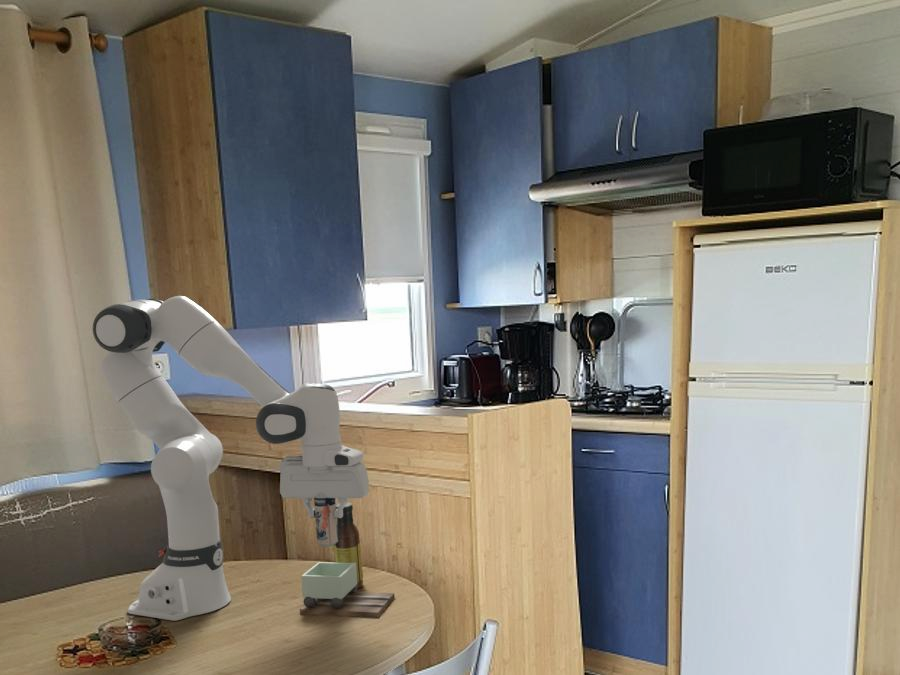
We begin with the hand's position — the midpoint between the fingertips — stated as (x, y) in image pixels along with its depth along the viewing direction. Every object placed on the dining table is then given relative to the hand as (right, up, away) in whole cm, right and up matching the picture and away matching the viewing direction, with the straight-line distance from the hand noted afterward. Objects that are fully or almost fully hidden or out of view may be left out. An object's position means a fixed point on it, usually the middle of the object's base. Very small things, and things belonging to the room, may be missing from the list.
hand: (325, 517), depth 164 cm
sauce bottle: (+4, -20, +11) cm, 23 cm away
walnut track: (+5, -19, -1) cm, 20 cm away
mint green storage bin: (+1, -18, 0) cm, 19 cm away
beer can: (0, -6, 0) cm, 6 cm away
